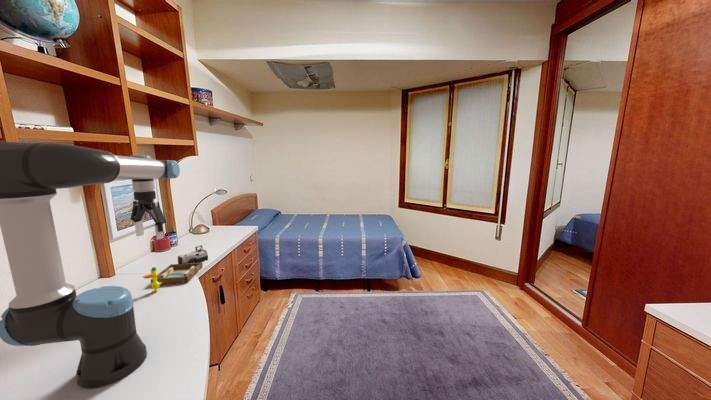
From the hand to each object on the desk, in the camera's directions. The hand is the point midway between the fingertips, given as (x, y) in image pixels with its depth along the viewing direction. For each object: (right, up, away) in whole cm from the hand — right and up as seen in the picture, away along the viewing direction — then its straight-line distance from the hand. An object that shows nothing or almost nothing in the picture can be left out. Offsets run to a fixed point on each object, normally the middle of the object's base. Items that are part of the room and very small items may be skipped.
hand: (150, 237), depth 117 cm
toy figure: (0, -26, +2) cm, 26 cm away
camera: (-2, -21, +35) cm, 42 cm away
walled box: (0, -24, +19) cm, 30 cm away
